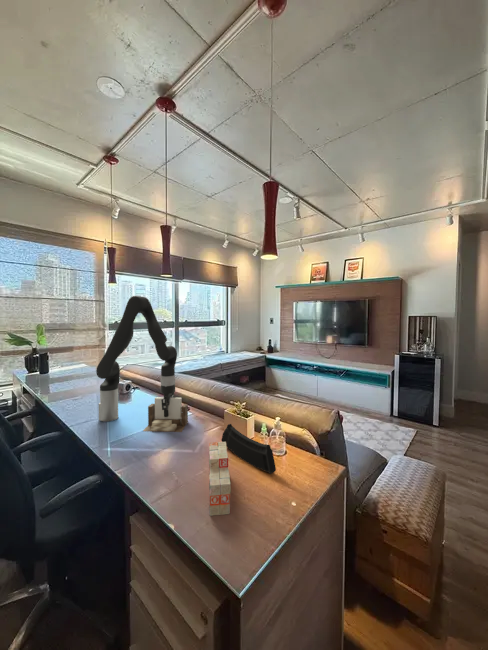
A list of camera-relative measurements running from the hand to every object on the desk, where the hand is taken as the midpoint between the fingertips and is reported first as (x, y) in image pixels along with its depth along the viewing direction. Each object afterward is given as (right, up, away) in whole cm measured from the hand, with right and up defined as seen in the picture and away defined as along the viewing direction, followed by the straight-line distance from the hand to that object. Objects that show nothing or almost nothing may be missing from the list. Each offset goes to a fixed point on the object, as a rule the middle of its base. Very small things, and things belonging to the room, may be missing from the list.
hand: (168, 414), depth 144 cm
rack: (0, -6, -3) cm, 7 cm away
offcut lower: (0, -5, -7) cm, 9 cm away
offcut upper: (-1, -3, -7) cm, 8 cm away
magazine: (+42, -7, -34) cm, 54 cm away
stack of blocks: (+32, -8, -55) cm, 64 cm away
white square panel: (0, -5, 0) cm, 5 cm away
